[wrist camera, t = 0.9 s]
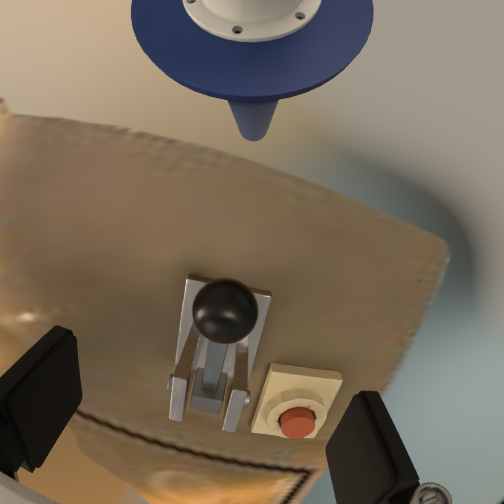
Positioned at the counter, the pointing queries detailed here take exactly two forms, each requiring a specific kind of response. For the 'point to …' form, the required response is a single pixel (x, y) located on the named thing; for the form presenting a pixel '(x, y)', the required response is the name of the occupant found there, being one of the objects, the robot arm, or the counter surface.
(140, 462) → the counter surface
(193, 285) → the bracket
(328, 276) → the counter surface
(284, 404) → the control block
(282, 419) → the button
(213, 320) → the lever
